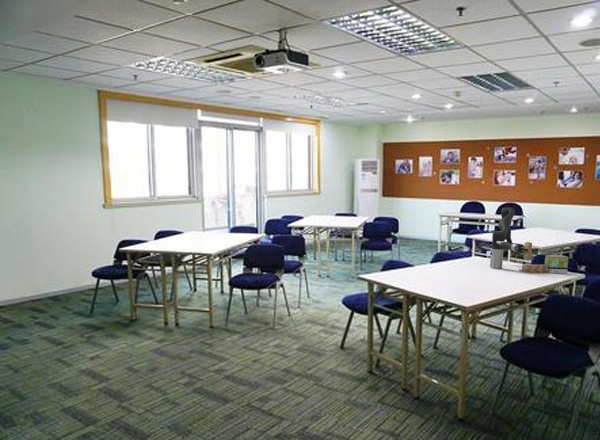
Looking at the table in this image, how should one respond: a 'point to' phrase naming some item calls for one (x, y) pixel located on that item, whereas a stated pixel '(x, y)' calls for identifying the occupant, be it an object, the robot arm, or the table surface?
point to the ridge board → (534, 268)
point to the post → (528, 253)
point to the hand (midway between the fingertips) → (530, 250)
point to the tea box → (556, 263)
